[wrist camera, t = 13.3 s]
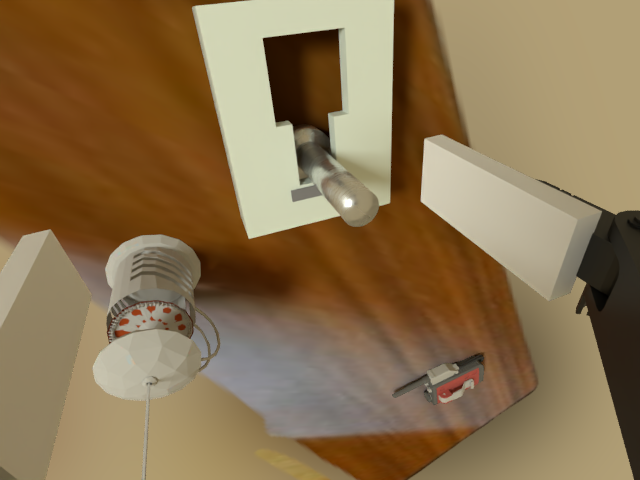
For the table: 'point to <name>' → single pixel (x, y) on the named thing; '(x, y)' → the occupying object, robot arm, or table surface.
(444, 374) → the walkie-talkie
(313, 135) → the steel peg
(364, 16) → the keyhole board
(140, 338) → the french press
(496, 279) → the table surface
